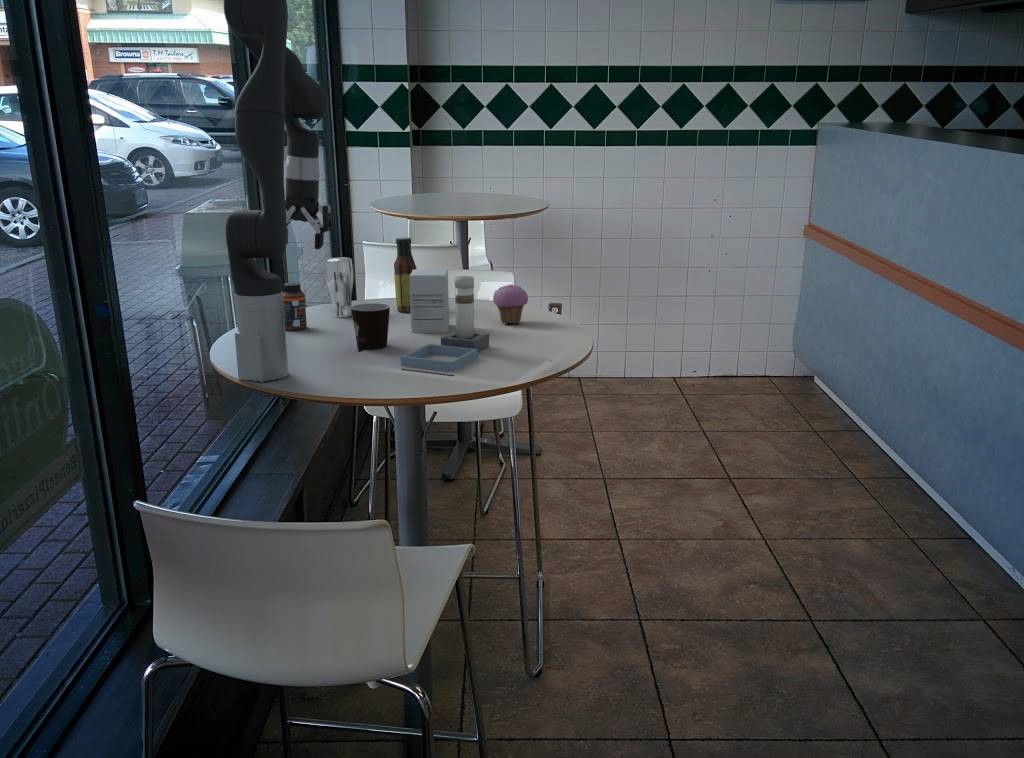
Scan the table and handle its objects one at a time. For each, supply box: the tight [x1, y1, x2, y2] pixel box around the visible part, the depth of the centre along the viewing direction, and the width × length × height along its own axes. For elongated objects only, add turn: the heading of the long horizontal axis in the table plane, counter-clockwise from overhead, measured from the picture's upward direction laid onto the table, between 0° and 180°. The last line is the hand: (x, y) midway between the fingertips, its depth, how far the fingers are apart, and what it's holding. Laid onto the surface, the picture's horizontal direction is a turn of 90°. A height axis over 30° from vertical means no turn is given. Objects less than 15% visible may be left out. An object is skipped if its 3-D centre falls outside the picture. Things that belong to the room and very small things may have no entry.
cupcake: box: [492, 284, 529, 325], centre depth 227 cm, size 9×9×10 cm
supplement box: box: [409, 268, 450, 334], centre depth 217 cm, size 9×9×15 cm
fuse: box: [454, 275, 475, 339], centre depth 196 cm, size 4×4×16 cm
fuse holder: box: [440, 330, 490, 353], centre depth 198 cm, size 8×10×4 cm
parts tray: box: [400, 343, 479, 377], centre depth 188 cm, size 12×12×3 cm
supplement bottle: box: [283, 282, 308, 331], centre depth 221 cm, size 6×6×11 cm
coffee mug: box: [351, 302, 391, 353], centre depth 201 cm, size 12×9×10 cm
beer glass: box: [325, 257, 354, 318], centre depth 236 cm, size 7×7×15 cm
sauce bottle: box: [393, 236, 418, 313], centre depth 240 cm, size 7×6×20 cm
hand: (301, 246), depth 210 cm, fingers open, 8 cm apart
